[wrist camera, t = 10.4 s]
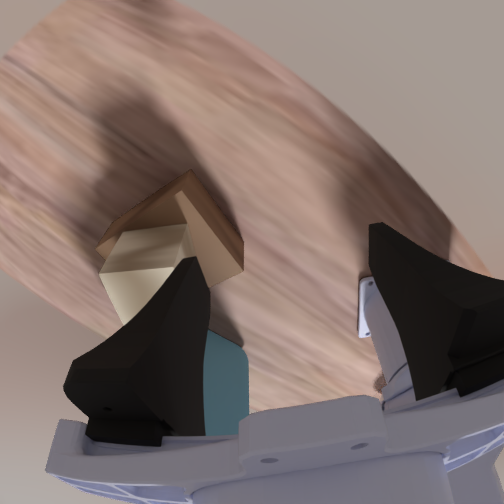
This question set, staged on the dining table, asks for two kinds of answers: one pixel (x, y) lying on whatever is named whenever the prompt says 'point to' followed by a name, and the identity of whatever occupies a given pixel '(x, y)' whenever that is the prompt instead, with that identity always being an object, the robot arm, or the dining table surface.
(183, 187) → the walnut base block
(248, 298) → the dining table surface
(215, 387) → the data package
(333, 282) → the dining table surface
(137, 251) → the birch cube
